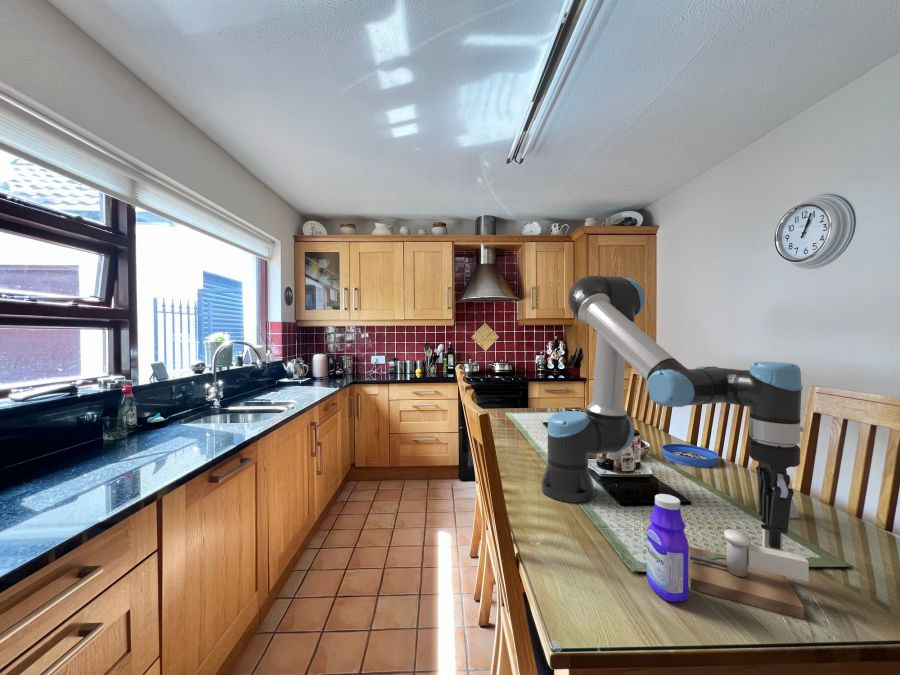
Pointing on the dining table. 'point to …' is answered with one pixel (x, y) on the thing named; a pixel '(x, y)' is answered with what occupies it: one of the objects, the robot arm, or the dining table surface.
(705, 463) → the bowl
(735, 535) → the peg
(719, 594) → the board
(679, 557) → the bottle
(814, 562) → the dining table surface
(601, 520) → the dining table surface
